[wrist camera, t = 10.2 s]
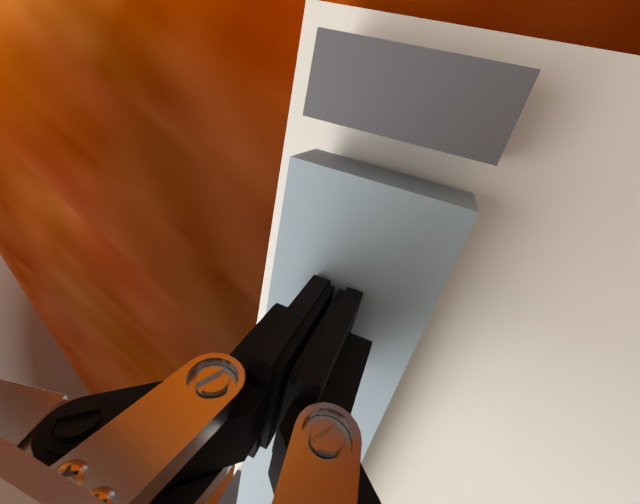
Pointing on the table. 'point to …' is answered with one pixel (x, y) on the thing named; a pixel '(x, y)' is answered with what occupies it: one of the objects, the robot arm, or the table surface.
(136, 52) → the table surface
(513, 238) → the board
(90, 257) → the table surface
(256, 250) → the table surface
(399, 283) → the lever
